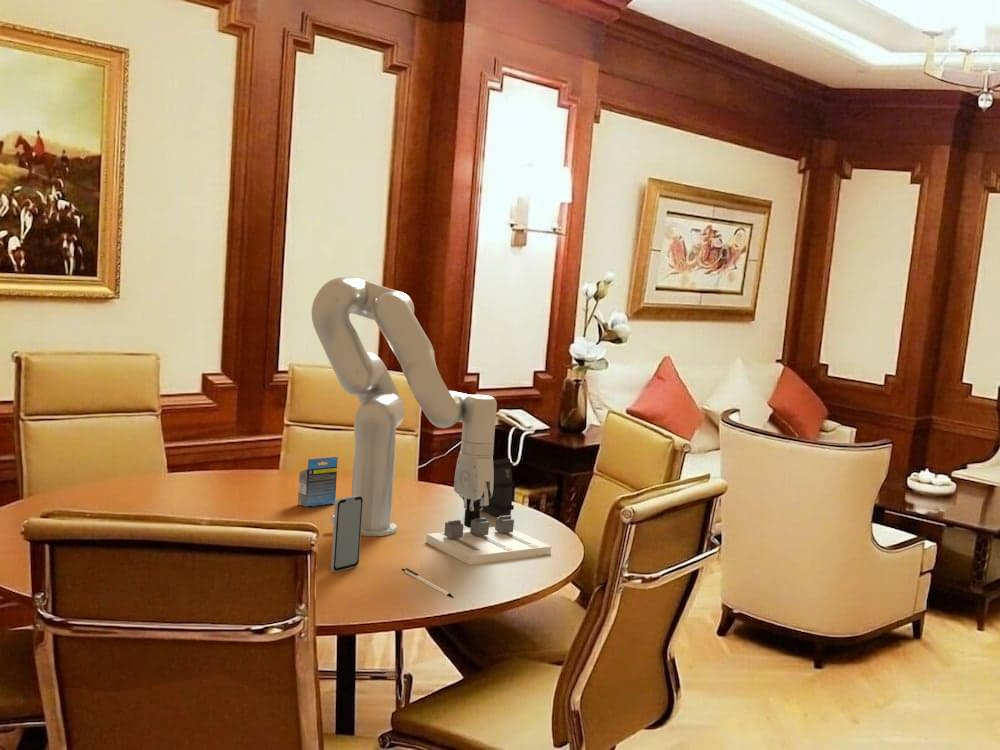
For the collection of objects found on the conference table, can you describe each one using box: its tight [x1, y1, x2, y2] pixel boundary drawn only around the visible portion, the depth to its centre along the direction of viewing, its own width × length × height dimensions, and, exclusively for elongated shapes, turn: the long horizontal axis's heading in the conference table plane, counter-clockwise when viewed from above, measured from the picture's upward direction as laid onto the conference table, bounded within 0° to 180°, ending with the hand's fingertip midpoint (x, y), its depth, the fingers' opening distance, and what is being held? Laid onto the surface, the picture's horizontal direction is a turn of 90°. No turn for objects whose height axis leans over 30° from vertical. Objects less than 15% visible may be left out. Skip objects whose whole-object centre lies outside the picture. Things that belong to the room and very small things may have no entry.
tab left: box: [443, 519, 465, 539], centre depth 230 cm, size 3×3×4 cm
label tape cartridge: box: [297, 456, 339, 508], centre depth 258 cm, size 9×4×12 cm, turn 132°
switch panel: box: [425, 526, 552, 566], centre depth 231 cm, size 22×18×2 cm
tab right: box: [494, 515, 515, 533], centre depth 238 cm, size 3×3×4 cm
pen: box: [401, 568, 454, 599], centre depth 203 cm, size 1×19×1 cm, turn 37°
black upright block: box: [482, 457, 516, 518], centre depth 262 cm, size 4×13×15 cm, turn 38°
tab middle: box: [469, 517, 490, 536], centre depth 234 cm, size 3×3×4 cm
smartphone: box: [330, 495, 363, 573], centre depth 207 cm, size 7×1×15 cm, turn 142°
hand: (471, 526), depth 237 cm, fingers closed
